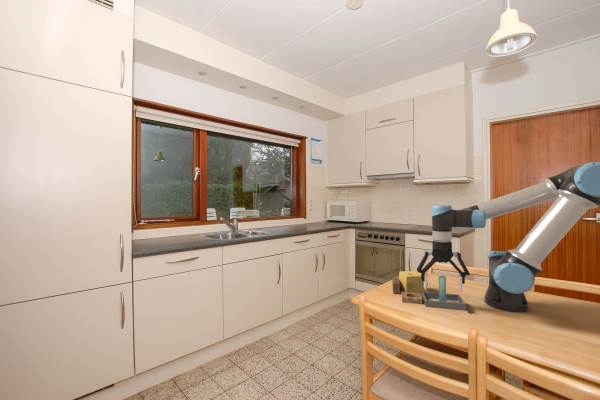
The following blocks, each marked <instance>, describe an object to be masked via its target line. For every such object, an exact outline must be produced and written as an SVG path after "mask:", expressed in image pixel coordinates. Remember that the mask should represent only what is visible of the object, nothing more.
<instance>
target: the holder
mask: <svg viewBox="0 0 600 400" xmlns="http://www.w3.org/2000/svg"><path fill="white" fill-rule="evenodd" d="M400 295H401V296H400V297H401V302H402V303H404V304H406V303H407V304H416V305H423V299H422V295H420V293H411V292H403V291H400Z"/></svg>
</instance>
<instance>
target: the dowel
mask: <svg viewBox="0 0 600 400" xmlns="http://www.w3.org/2000/svg"><path fill="white" fill-rule="evenodd" d="M438 293H439V299H438V301H442V302H447V300H446V294H447V276H445V275H438Z"/></svg>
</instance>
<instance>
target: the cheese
mask: <svg viewBox="0 0 600 400" xmlns="http://www.w3.org/2000/svg"><path fill="white" fill-rule="evenodd" d="M398 277H399V282H400V291H401V292H411V293H420V295H421V296H422V292H429V289H428V288H427V289H425V288H424V281H422V279H421V273H420V272H418V271H417V270H410V271H408V270H407V271H405V270H404V271H403V270H402V271H401V270H400V271H399V274H398ZM428 285H429V284H428V282H427V287H428Z"/></svg>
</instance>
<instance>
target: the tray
mask: <svg viewBox="0 0 600 400" xmlns="http://www.w3.org/2000/svg"><path fill="white" fill-rule="evenodd" d="M421 298H422V303H423V304H424V307H425V308H434V309H435V308H436V309H444V310H453V311H454V310H455V311H467V303H466V302H465V301H464V299H463V298H462V296H460V294H458V293H457V294H456V293H454V294H453V293H446V302H442V301H439V292H430V291H428V292H422V295H421ZM430 299H432V300H430ZM433 299H434V300H433ZM452 301H454V302H452Z"/></svg>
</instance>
